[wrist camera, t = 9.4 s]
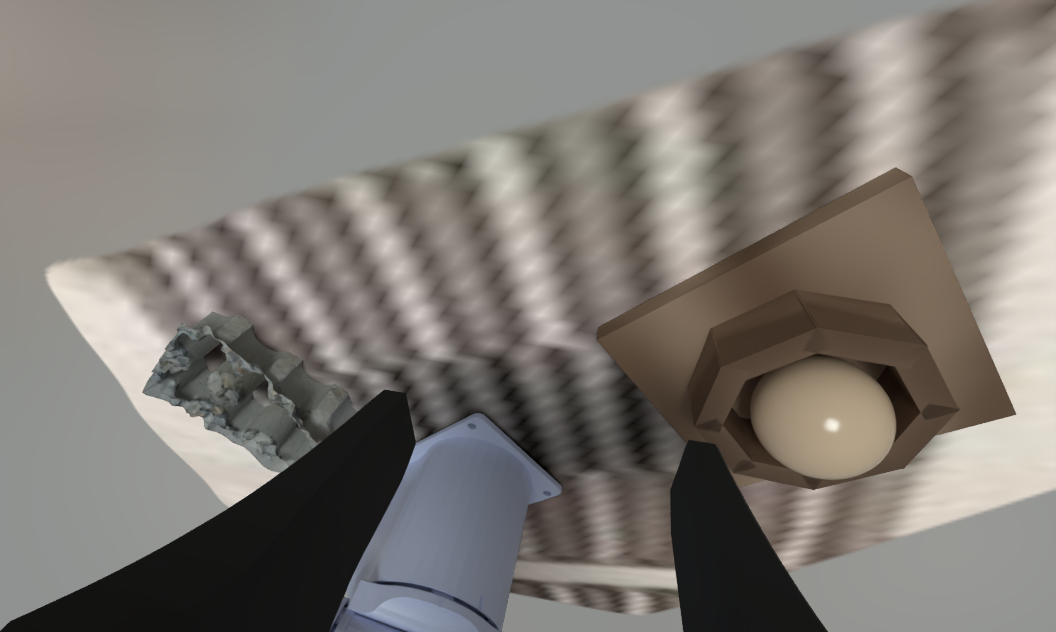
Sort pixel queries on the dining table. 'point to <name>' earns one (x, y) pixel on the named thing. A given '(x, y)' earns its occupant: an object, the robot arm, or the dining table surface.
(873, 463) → the egg
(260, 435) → the egg carton
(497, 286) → the dining table surface
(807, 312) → the egg stand
